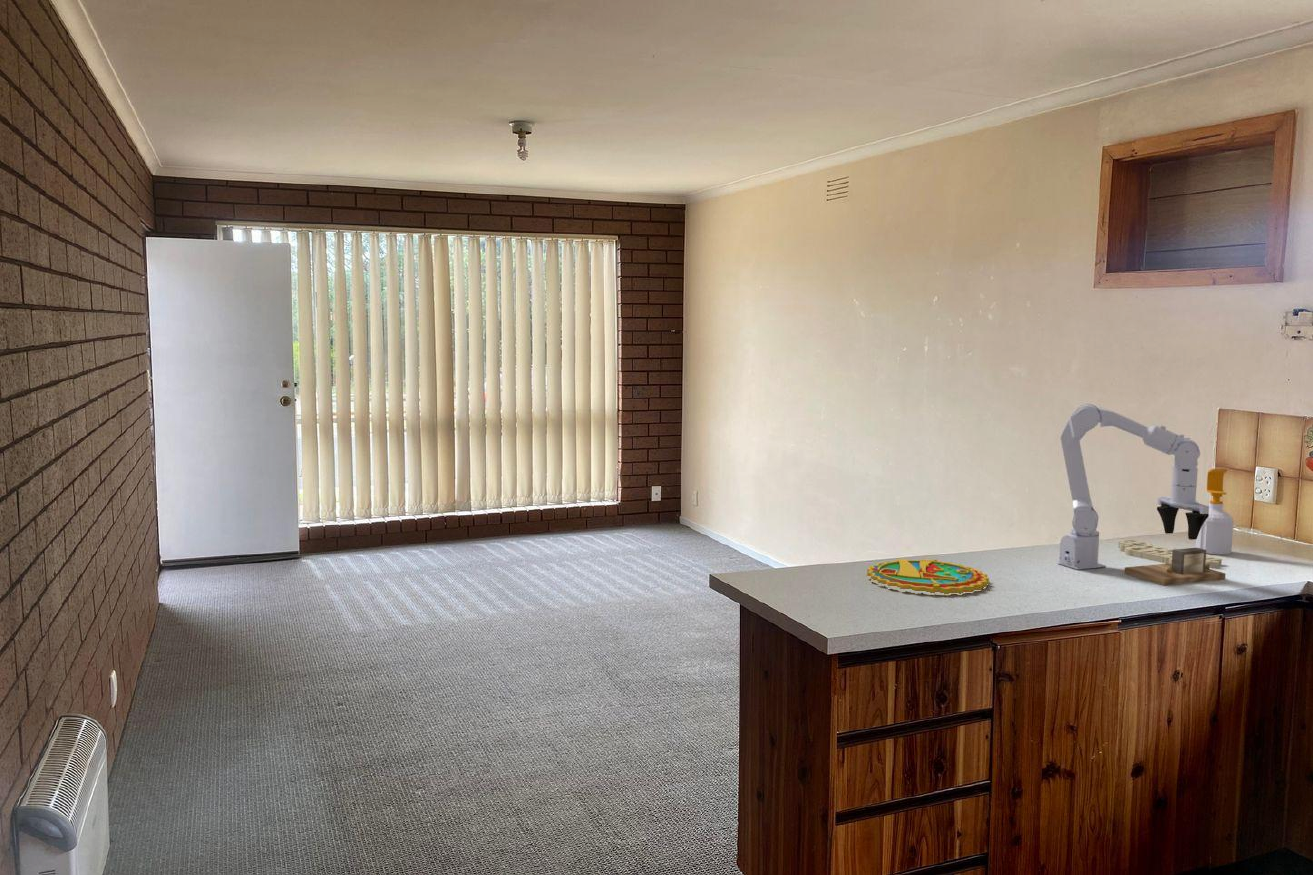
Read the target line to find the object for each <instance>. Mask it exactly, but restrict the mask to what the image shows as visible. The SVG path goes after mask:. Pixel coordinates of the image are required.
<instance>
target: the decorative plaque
mask: <svg viewBox="0 0 1313 875" xmlns="http://www.w3.org/2000/svg"><path fill="white" fill-rule="evenodd" d="M867 576H871V579H873V580H877V581H878V583H882V584H887V585H888V586H897V587H899V588H900V589H912V590H914V591H926V592H930V593H935V592H940V593H944V594H949V593H959V594H961V593H963V592H973V591H974V590H982V591H983V589H982V588H984V587H987V588H988V586H987V584H990V582H989V581H990V578H989V577H988V574H986V573H984V572H983V570H979V569H975V567H971V566H965V565H964V564H957V563H953V562H947V561H946V562H945V561H939V560H938V559H929V558H928V559H927V558H922V559H918V560H917V559H905V558H897V559H896V560H892V561H889V560H885V561H884V562H876V563H875V565H873V564H872V565H870V567H868V568H867V569H866V577H867Z"/></svg>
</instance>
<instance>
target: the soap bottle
mask: <svg viewBox="0 0 1313 875" xmlns="http://www.w3.org/2000/svg"><path fill="white" fill-rule="evenodd" d="M1227 472H1228V469H1225V468H1211V469H1209V470H1208V472H1207V477H1206V492H1208V493H1209V494H1211V495H1210V496H1211V497H1212V500H1209V505H1208V506H1209V517H1208V518H1207V519H1206V520H1205V522H1204V523H1203V525H1202V527H1201V529H1200V531H1199V534H1198V537H1197V539H1195V547H1194V548H1200V549H1204V550H1206V555H1212V556H1213V555H1215V556H1227V555H1230V554H1231V553H1232V549H1233V547H1232V546H1233V535H1234V534H1233V532H1234V531H1233V530H1234V519H1233V516H1231V514H1230V513H1228V512H1227V511H1225V510H1224V508H1223V506H1224V504H1223V503H1224V502H1223V501H1221V500H1220V499H1221V498H1222V497H1223V495H1227V492H1225V491H1224V489H1223V488H1224V476H1225V475H1224V474H1225V473H1227Z"/></svg>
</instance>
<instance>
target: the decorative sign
mask: <svg viewBox="0 0 1313 875" xmlns="http://www.w3.org/2000/svg"><path fill="white" fill-rule="evenodd" d="M1117 545H1118V549H1119V552H1123V553H1124V555H1127V556H1129V557H1135V558H1139V559H1143V560H1148V561H1152V562H1156V563H1157V562H1158V563H1161V564H1168V563H1172V552H1173V550H1174V549H1178V548H1177V547H1176V548H1170V549H1169V548H1168V547H1162V546H1158V545H1154V544H1152V543H1150V542H1147V541H1142V540H1141V541H1140V540H1135V539H1123V540H1122V541H1119V542H1118V544H1117ZM1222 560H1223V559H1222V558H1220V557H1214V556H1210V555H1209V556H1208V555H1206V563H1209V564H1210V568H1209V569H1219V565H1220V566H1222Z"/></svg>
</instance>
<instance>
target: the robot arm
mask: <svg viewBox="0 0 1313 875" xmlns="http://www.w3.org/2000/svg"><path fill="white" fill-rule="evenodd" d="M1099 423H1100V427H1101V428H1103V427H1111V426H1112V427H1115V428H1117V429H1119V430H1122V431H1125V432H1127V433H1129V434H1132V435H1135V436H1137V437H1139V438H1142V441H1143V443H1144V445H1145V446H1148V447H1149V448H1153V449H1155V451H1156V450H1157V451H1158V452H1161V453H1163V454H1165V455H1168V456H1171V455H1174V459H1173V460H1174V461H1173V466H1172V474H1171V475H1172V477H1171V490H1170V491H1171V492H1170V497H1166V496H1161V497H1157V505H1160V506H1157V507H1156V510H1157V512H1158V514H1159V516H1160V519H1161V521H1162V525H1163V528H1164V529H1163V530H1164V533H1165V534H1167V535H1168V534H1169V535H1170V534H1174V532H1175V531H1174V530H1175V525H1176V518H1177V515H1178V512H1179V510H1180V509H1181V510H1186V511H1190V512H1185V517H1186V520H1187V528H1188V529H1187V538H1188V540H1190V541H1191V540H1196V539H1197V537H1198V534H1199V531H1200V529H1201V527H1202V525H1203V523H1204V522H1205V520H1206V519H1207V518H1208V517H1209V505H1205V504H1202V503H1199V502H1198V501H1197V500H1196V498H1197V486H1198V474H1199V473H1198V472H1199V470H1198V469H1199V468H1198V465H1199V462H1198V460H1199V458H1200V456H1201V451H1200V447H1199V446H1198V444H1197V443H1196V442H1195V441H1194V440H1193V439H1191V438H1189V437H1185V435H1184V434H1177V433H1175V432H1173V431H1170V430H1168V429H1167V426H1165V425H1162V424H1161V425H1160V426H1159V425H1156V424H1155V425H1151V426H1146V425H1144V424H1142V423H1139V422H1138V421H1135V420H1133V419H1130V418H1129V417H1126V416H1125V415H1123V414H1120V413H1118V412H1116V411H1114V410H1111V409H1107V408H1104V407H1101V406H1099V407H1098V406H1096V405H1094V404H1091V403H1085V404H1081V405H1080V406H1079V407H1078V408H1076V410H1075V411H1073V412H1072V414H1071V415H1070V417H1069V419H1068V421H1067V423H1066V425H1065V426H1064V429H1063V430H1062V433H1061V435H1060V441H1061V442H1060V443H1061V448H1062V452H1063V458H1064V464H1065V468H1066V474H1067V479H1068V484H1069V488H1070V490H1069V491H1070V495H1071V496H1070V497H1071V500H1072V509H1073V518H1072V520H1071V525H1072V528H1071V529H1070V532H1069V533H1068V534H1065V535H1063V536H1062V537H1061V539H1060V543H1059V544H1060V545H1059V561H1057V564H1058V565H1062V566H1065V567H1069V568H1071V569H1075V570H1086V569H1087V570H1088V569H1099V568H1106V565H1105V564H1102V563H1099V549H1100V548H1099V545H1100V531H1098V530H1097V529H1098V523H1099V515H1098V512H1097V511H1096V510H1095V509H1094V506H1093V502H1092V499H1091V498H1092V497H1091V494H1090V490H1089V484H1088V479H1087V473H1086V468H1085V462H1084V457H1083V454H1082V452H1083V451H1082V447H1081V440H1082V439H1083V438H1084V436H1085V435H1086V433H1088V432H1089V431H1091V430H1092V429H1094V428H1095V427H1096V426H1097V425H1099Z"/></svg>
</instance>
